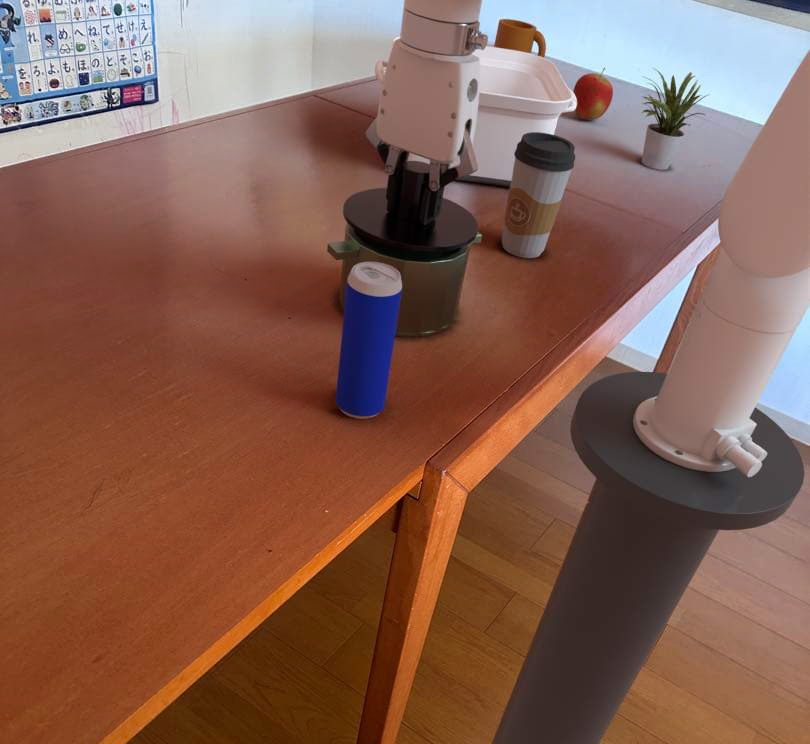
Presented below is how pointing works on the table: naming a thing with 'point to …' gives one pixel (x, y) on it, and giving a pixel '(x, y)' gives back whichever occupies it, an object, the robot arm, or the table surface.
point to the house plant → (667, 123)
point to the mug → (519, 36)
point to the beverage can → (367, 338)
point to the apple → (592, 96)
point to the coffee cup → (536, 192)
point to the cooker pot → (411, 280)
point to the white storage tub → (509, 108)
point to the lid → (410, 216)
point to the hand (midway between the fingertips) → (411, 213)
